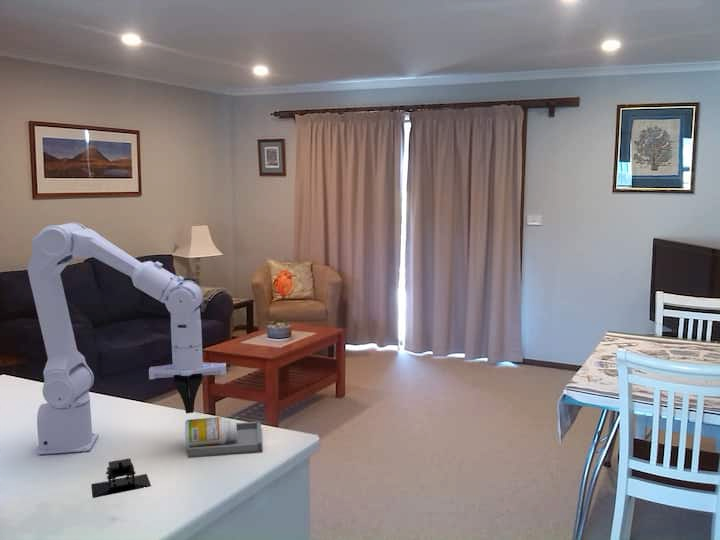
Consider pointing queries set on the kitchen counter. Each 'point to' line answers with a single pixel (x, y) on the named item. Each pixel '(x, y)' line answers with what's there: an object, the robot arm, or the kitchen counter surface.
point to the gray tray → (234, 442)
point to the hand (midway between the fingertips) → (189, 411)
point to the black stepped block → (120, 479)
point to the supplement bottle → (209, 431)
